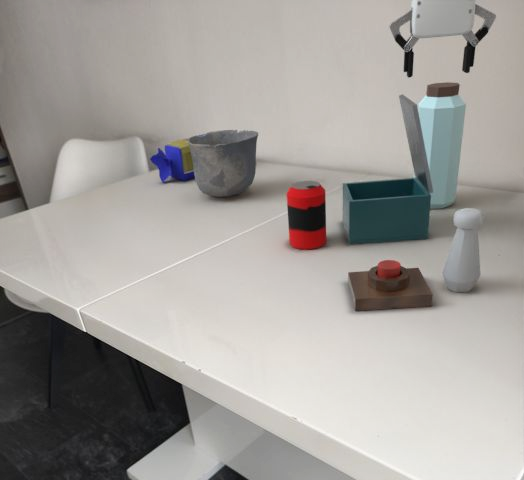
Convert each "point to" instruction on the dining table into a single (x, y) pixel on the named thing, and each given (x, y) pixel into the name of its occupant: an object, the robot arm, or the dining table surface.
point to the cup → (224, 161)
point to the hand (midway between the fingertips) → (437, 74)
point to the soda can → (306, 215)
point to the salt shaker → (464, 252)
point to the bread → (175, 161)
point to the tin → (385, 210)
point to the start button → (389, 269)
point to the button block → (389, 290)
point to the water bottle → (442, 139)
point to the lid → (416, 142)
